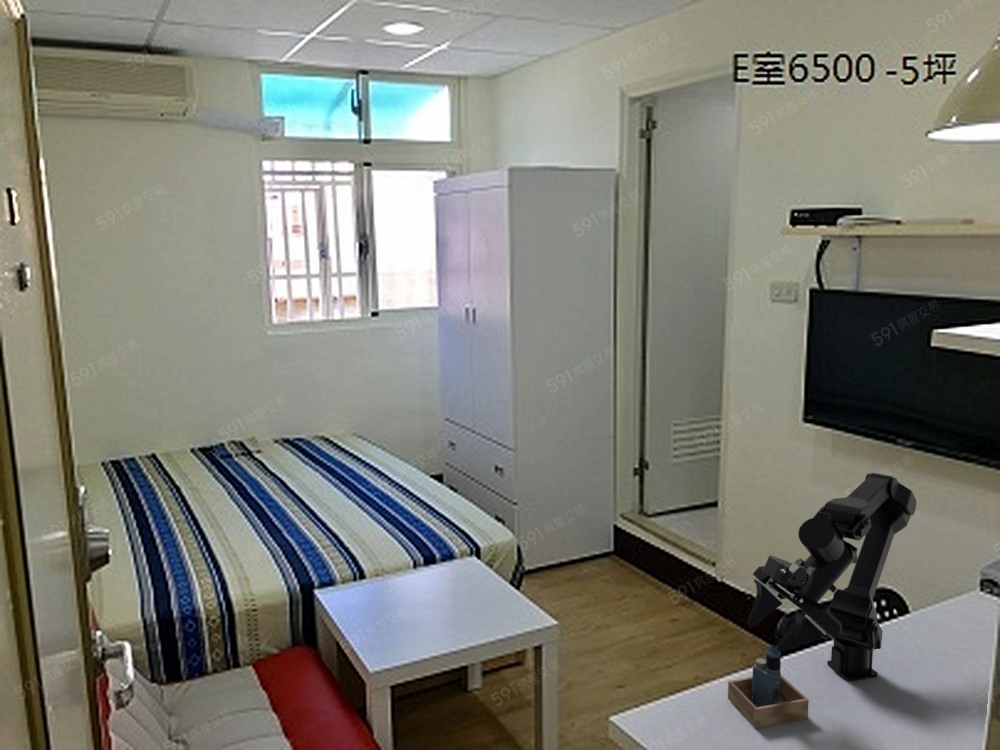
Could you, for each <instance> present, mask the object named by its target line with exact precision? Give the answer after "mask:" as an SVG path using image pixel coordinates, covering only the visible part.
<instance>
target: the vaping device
mask: <svg viewBox="0 0 1000 750" xmlns="http://www.w3.org/2000/svg"><path fill="white" fill-rule="evenodd" d="M777 646H778V645H774V644H772V645H770V648H767V649H766V654H765V655H766V656H765V657H766V658H763V657H757V658H756V659H755V662H754V664H753V667H752V676H751V677H752V697H751V699H752V703H753V704H754V705H755V706H756V707H762V706H767V705H773V704H778V703H781V702H780V701H781V696H780V678H781V675H782V674H781V666H782V665H781V663H782V662H781V661H782V659H781V658H782V656H781V655H782V652H779V651H778V650H777V649H776V648H777Z"/></svg>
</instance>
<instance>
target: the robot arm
mask: <svg viewBox="0 0 1000 750" xmlns="http://www.w3.org/2000/svg"><path fill="white" fill-rule="evenodd" d="M916 509H917V499H916V496H915V494H914V492H913V490H911V489H909V488H908V487H907V486H905V485H903V484H902V483H900V482H899V481H898V479H897V477H894V476H893V475H890V474H889V475H888V474H882V473H876V472H871V473H867V474H866V476H865V478H864V481H862V482H861V483H860V484H858V486H857V487H856V488H855V489H854V490H853V491H852V492H851V493H850V494H849V495H848V496H846V497H838V498H835V497H834V498H832V499H830V500H829V501H826V503H824V505H823V506H822V507H821V508H820V509H819V510H818V511H817V512H816V514H815V515H814V516H813V517H811V518H809V519H807V520H805V521H804V522H803V523H802V524H801V525H800V526H799V529H798V539H799V541H800V543H801V544H802V546H803V547H804V549H806V550H807V552H808V553H809V554H810V555H809V556H808V557H807V558H806V559H805V560H804V559H802V558H798V559H796V560H795V561H794V562H793V563H792V562H790V561H787V560H785V559H781V558H779V557H776V556H774V555H772V554H771V555H769V556H768V557H767V560H766V562H765V564H764V565H761V566H758V567H757V568H756V569H755V571H754V572H753V573H752V576H753V577H754V579H753V582H754V584H755V587H756V597H755V599H754V602H753V605H752V608H751V611H750V613H749V616H748V617H747V621H746V624H747V625H748V626H749V627H750V628H751V627H753V626H756V625H757V624H758V623H760V622H761V621H762V620H763V619H765V618H766V617H768V616H769V615H770V614H771V613H774V611H776V610H777V609H778V608H780V607H781V606H782V605H783V602H782V601H781V600H785V599H786V600H788V601H789V602H790V603H792V605H795V606H796V607H797V608H798V609H800V610H801V612H802V613H801V612H800V611H798V610H795V617H794V619H795V620H794V623H793V624H792V626H791V627H790V628H789V629H788V630H787V632H786V633H785V635H783V637H782V638H781V640H780V641H779V643H778V644H777V645H776V646H777V648H776V649H777V650H778V651H779V652H781V653H784V652H786V651H788V650H791V649H794V648H797V647H799V646H801V645H805V644H808V643H810V642H814V641H817V640H821V639H824V640H828V638H829V639H830V638H831V639H833V646H831V653H830V656H831V658H830V660H828V661H827V663H826V664H827V665H828V666H829V667H830V668H831V669H833V670H834V671H835V672H836V673H838V674H839V675H840V676H841V677H843V679H845V680H846V681H852V682H853V681H858V680H862V679H868V678H873V677H878V675H879V673H878V672H877V671H876V670H875V669H873V657H874V655H873V654H874V651H875V650H880V649H881V648H882V640H883V629H882V627H881V625H880V624H879V622H878V614H877V611H876V607H875V604H874V601H873V600H874V597H875V595H876V592H877V591H876V590H877V589H878V588H877V587H878V585H879V581H880V579H881V576H882V573H883V570H884V567H885V563H886V561H887V558H888V555H889V552H890V549H891V545H892V542H893V541H894V540H893V539H894V536H895V535H896V534H897V533H898V532H900V531H902V530H903V529H904V528H907V527H908V524H909V521H910V519H911V517H912V516H913V515H914V514H915V513H916ZM845 538H846V539H849V540H854V541H861V540H862V539H863V542H862V545H861V548H860V550H859V553H858V548H857V547H856V546H854V544H852V543H850V542H848V541H846V540H845ZM852 563H853V564H854V568H853V571H852V574H851V576H850V580H849V582H848V585H847V587H845V588H844V589H841V588H837V587H836V586H835V585H834V584H835V583H836V582H837V581H838V580H839V578H840V577H841V576H842V574H843V573H844V572H845V571H846V570H847V569H848V568H849V566H850V565H851V564H852ZM828 591H830V592H831V593H833V596H832V599H831V602H830V605H829V606H828V607H827V608H826V607H825V606H823V605H821V604H820V603H819V602H820V600H822V598H823V597H824V595H826V593H827V592H828ZM804 614H805V615H804Z"/></svg>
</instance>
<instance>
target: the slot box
mask: <svg viewBox="0 0 1000 750" xmlns="http://www.w3.org/2000/svg"><path fill="white" fill-rule="evenodd" d="M752 677H753V676H750V677H744V678H739V679H738V678H737V679H732V680H728V681H727V700H728V699H729V700H730V701H731V702H732V703H731V702H730V701H729V700H728V701H729V702H730V703H731V704H732V705H733V707H734V708H735V709H736V710H737V711H738V712H739V713H740V714H741V715H742V716H743V717H744V718H745V719H746V720H747V722H749V724H750V725H751V726H752V727H753V728H754V729H761V728H766V727H771V726H776V725H782V724H787V723H792V722H797V721H802V720H803V721H804V720H808V719H809V700H810V699H808V698H807V697H806V696H805V695H804V694H802V693H801V692H800V690H798V689H797V688H796V687H795V686H794V685H793V684H792V683H791V682H789V681H788V680H787V679H786V678H785V677H784V676H783V675H782V674H781V678H780V698H782V699H784V700H785V702H784V701H783V702H780V703H778V704H773V705H767V706H762V707H758V706H756V705H755V704H754V703H753V701H751V700H750V699H749V698H752Z"/></svg>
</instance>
